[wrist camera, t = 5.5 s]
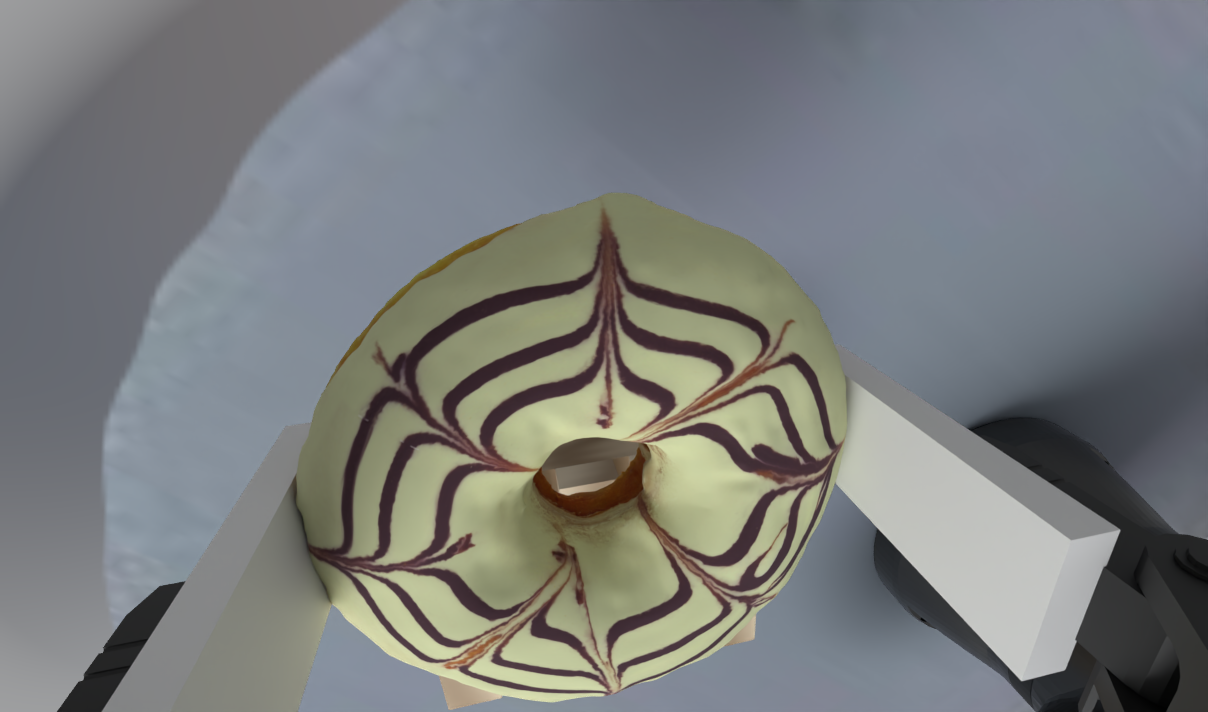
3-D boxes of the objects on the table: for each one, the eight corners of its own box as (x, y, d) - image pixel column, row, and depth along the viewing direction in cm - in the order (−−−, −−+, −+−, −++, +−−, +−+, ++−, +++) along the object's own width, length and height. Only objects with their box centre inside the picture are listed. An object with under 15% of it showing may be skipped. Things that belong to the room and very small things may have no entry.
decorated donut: (867, 383, 14) (985, 466, 11) (592, 645, 16) (619, 786, 13) (565, 72, 10) (606, 52, 7) (241, 474, 12) (146, 617, 9)
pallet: (723, 399, 29) (766, 452, 25) (718, 569, 34) (754, 639, 30) (408, 450, 27) (394, 519, 22) (453, 625, 32) (449, 710, 27)
